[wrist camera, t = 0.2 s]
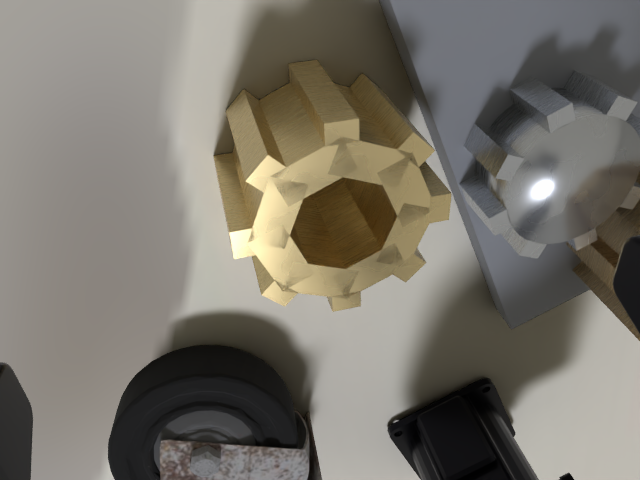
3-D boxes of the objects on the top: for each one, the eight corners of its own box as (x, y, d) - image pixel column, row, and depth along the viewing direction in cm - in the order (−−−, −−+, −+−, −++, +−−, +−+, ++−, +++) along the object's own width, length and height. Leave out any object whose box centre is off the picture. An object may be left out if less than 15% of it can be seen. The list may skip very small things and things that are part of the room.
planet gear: (417, 176, 24) (472, 247, 20) (271, 255, 24) (296, 339, 20) (354, 25, 20) (407, 77, 16) (179, 125, 20) (187, 198, 16)
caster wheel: (134, 310, 28) (337, 334, 30) (111, 496, 31) (294, 506, 33) (106, 397, 21) (365, 420, 23) (82, 615, 25) (308, 618, 27)
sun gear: (622, 174, 24) (664, 205, 22) (482, 247, 25) (511, 284, 23) (603, 36, 20) (652, 59, 18) (437, 126, 21) (468, 158, 19)
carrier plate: (678, 215, 29) (768, 282, 25) (496, 309, 30) (554, 389, 26) (654, -209, 18) (810, -217, 14) (362, -42, 18) (427, -1, 14)
